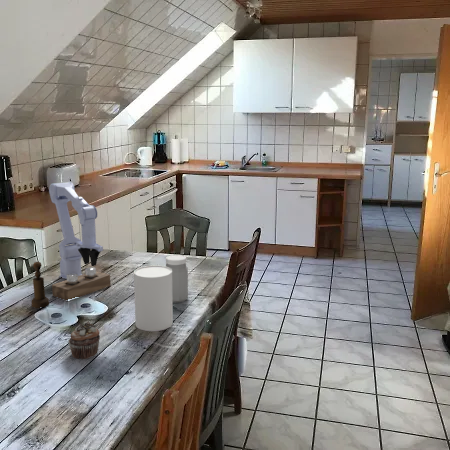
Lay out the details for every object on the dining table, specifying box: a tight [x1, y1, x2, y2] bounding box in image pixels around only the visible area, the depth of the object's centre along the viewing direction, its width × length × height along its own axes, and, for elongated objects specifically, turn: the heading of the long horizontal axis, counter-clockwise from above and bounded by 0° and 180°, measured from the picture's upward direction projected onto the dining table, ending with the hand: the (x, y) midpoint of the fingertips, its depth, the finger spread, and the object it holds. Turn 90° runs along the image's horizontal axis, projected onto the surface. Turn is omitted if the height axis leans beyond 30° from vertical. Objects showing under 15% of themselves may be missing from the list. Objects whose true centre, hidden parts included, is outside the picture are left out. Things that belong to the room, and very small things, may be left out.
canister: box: [133, 264, 174, 332], centre depth 180 cm, size 14×14×20 cm
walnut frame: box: [51, 270, 112, 301], centre depth 212 cm, size 10×23×5 cm, turn 147°
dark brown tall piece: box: [30, 261, 50, 309], centre depth 195 cm, size 7×6×18 cm
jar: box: [165, 254, 189, 304], centre depth 203 cm, size 10×10×18 cm
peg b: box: [84, 266, 97, 279], centre depth 216 cm, size 4×4×5 cm
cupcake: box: [68, 321, 101, 360], centre depth 158 cm, size 10×10×10 cm
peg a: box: [66, 273, 78, 286], centre depth 208 cm, size 4×4×5 cm
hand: (90, 264), depth 215 cm, fingers open, 4 cm apart
